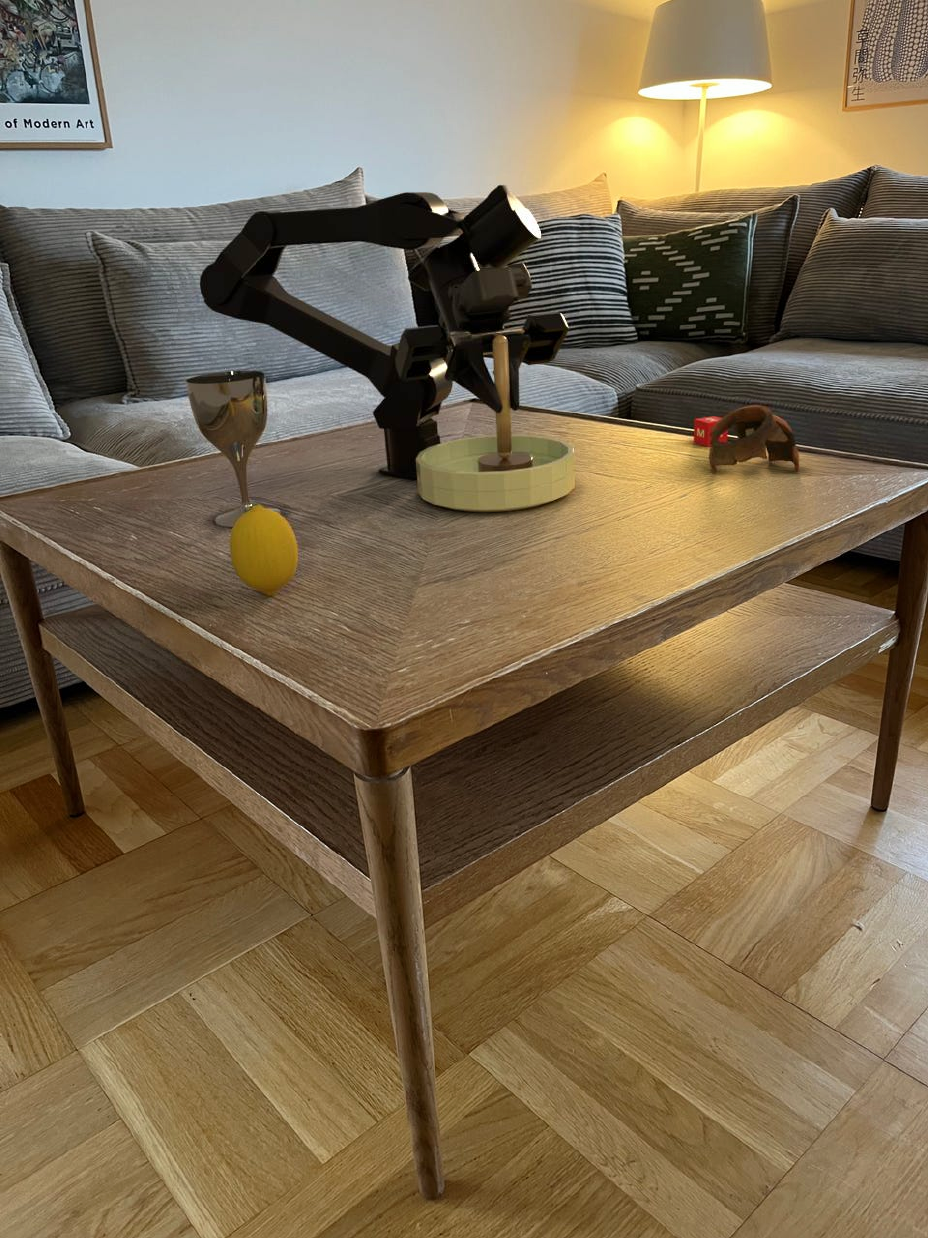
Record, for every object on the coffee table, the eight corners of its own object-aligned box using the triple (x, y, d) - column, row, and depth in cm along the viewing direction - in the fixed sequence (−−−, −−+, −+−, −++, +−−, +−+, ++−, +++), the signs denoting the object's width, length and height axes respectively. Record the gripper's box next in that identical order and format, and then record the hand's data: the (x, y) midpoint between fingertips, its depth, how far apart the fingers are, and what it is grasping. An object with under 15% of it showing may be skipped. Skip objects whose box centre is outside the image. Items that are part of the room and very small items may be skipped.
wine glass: (297, 507, 102) (278, 370, 96) (261, 529, 95) (237, 383, 89) (236, 504, 104) (214, 370, 98) (196, 526, 98) (169, 384, 92)
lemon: (243, 586, 80) (228, 498, 77) (306, 580, 81) (293, 493, 77) (233, 610, 75) (217, 518, 72) (301, 604, 76) (287, 512, 72)
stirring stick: (468, 481, 100) (460, 338, 93) (493, 467, 104) (487, 331, 98) (518, 485, 97) (513, 339, 91) (541, 471, 101) (538, 331, 95)
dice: (693, 442, 118) (694, 418, 117) (713, 439, 119) (714, 415, 118) (707, 446, 115) (708, 423, 114) (727, 443, 116) (728, 419, 115)
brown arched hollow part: (815, 482, 100) (789, 423, 96) (732, 518, 103) (704, 462, 99) (790, 431, 109) (766, 374, 105) (715, 465, 113) (689, 412, 108)
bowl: (387, 500, 102) (383, 461, 100) (487, 465, 114) (485, 429, 112) (508, 525, 91) (506, 481, 90) (605, 483, 103) (605, 444, 101)
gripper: (394, 244, 91) (443, 371, 86) (559, 232, 97) (613, 349, 92) (377, 321, 101) (420, 438, 96) (528, 305, 107) (575, 415, 102)
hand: (508, 409), depth 96 cm, fingers closed on stirring stick
